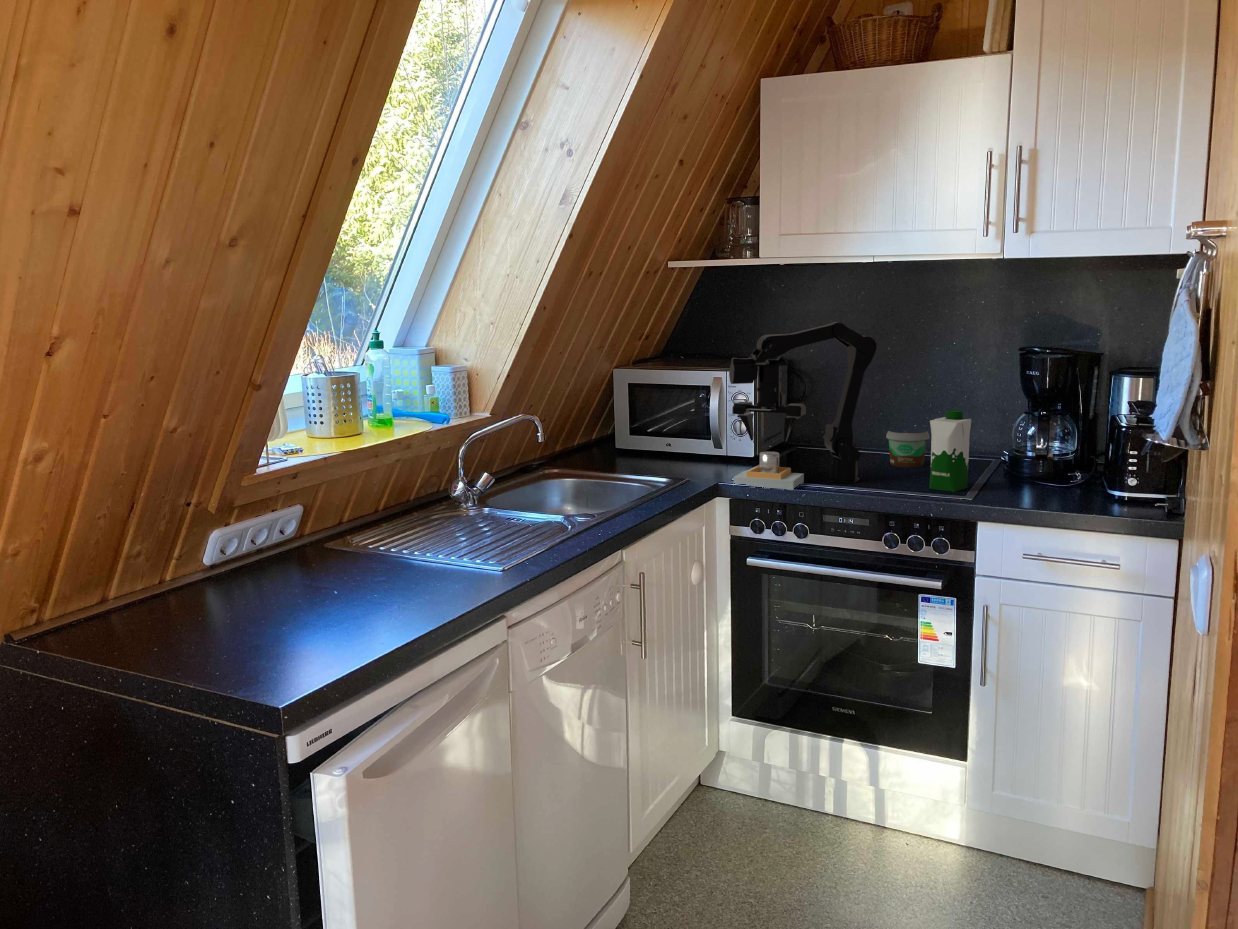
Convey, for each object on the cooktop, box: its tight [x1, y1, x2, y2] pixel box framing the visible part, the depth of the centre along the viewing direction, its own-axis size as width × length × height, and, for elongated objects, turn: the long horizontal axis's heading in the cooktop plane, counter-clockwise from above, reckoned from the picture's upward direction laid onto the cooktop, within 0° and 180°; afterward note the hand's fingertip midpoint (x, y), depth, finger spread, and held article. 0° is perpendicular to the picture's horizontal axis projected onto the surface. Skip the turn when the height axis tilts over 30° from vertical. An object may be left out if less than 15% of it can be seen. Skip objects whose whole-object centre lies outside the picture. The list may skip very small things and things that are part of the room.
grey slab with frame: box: [733, 465, 805, 491], centre depth 270 cm, size 16×10×4 cm, turn 65°
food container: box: [885, 430, 930, 468], centre depth 291 cm, size 12×6×10 cm, turn 80°
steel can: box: [758, 451, 780, 473], centre depth 269 cm, size 5×5×6 cm
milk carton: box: [928, 409, 972, 493], centre depth 258 cm, size 9×9×20 cm
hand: (768, 441), depth 268 cm, fingers open, 9 cm apart
